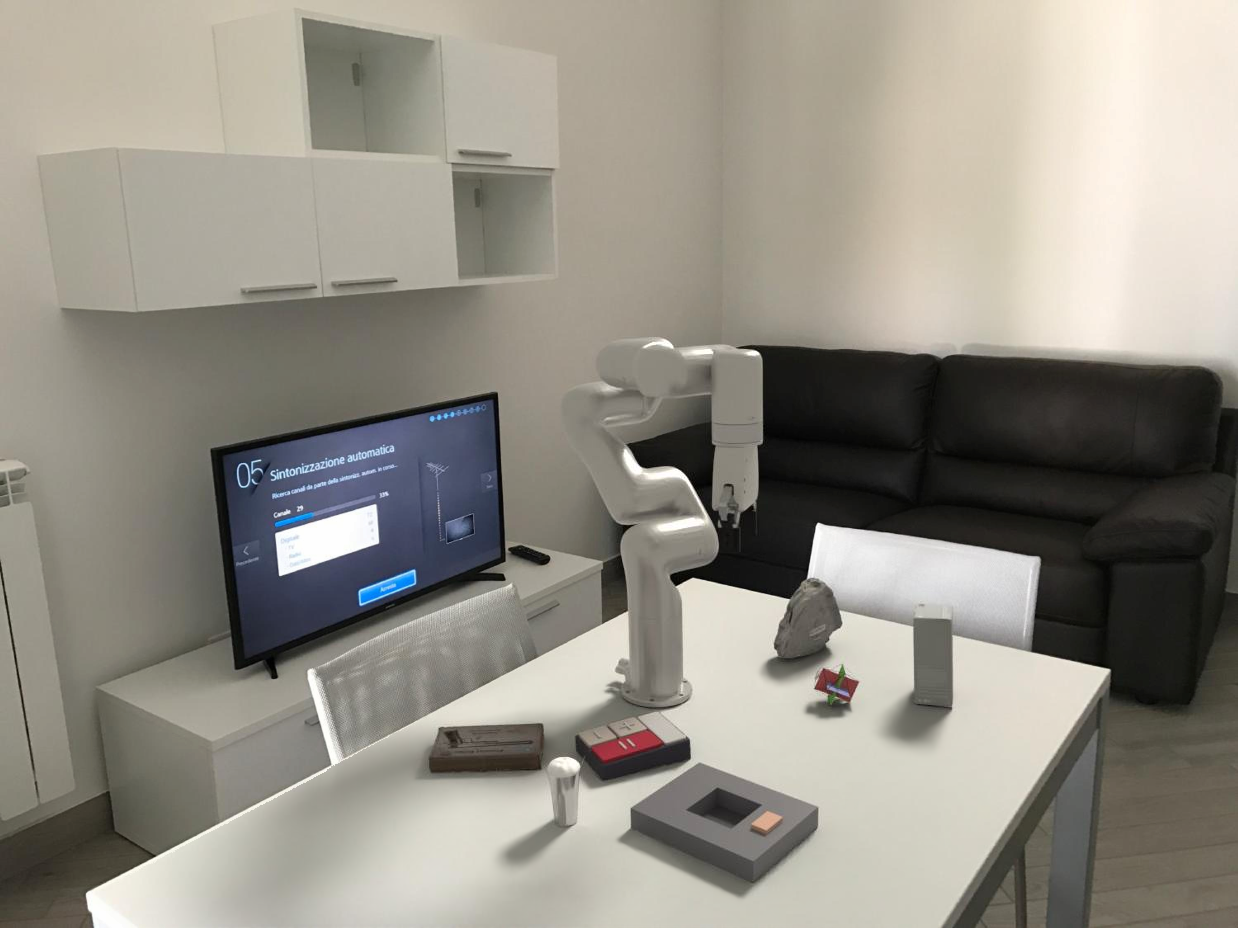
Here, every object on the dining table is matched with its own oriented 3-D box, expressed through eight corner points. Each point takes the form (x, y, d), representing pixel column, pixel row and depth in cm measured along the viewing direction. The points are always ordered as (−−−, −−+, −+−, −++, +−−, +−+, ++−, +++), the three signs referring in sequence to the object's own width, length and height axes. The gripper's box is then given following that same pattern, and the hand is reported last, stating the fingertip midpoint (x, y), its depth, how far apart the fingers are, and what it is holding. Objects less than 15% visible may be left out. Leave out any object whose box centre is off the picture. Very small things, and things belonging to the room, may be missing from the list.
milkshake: (583, 831, 141) (581, 764, 139) (545, 827, 142) (542, 761, 140) (591, 813, 145) (588, 748, 143) (554, 810, 146) (551, 745, 144)
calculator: (573, 730, 163) (658, 706, 169) (575, 755, 164) (660, 730, 170) (601, 761, 153) (690, 734, 159) (603, 787, 154) (692, 760, 160)
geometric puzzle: (864, 683, 180) (837, 648, 179) (869, 699, 174) (842, 664, 173) (831, 704, 182) (804, 671, 181) (835, 722, 175) (807, 687, 174)
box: (541, 772, 158) (540, 753, 157) (429, 775, 158) (427, 757, 157) (545, 738, 168) (544, 721, 167) (440, 742, 168) (438, 724, 167)
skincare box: (952, 709, 174) (956, 621, 171) (908, 704, 176) (912, 617, 173) (953, 688, 182) (957, 604, 179) (911, 684, 184) (915, 600, 181)
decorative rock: (825, 638, 206) (826, 566, 203) (850, 648, 201) (851, 575, 198) (764, 657, 198) (764, 583, 195) (788, 668, 192) (788, 592, 189)
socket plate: (630, 827, 141) (630, 803, 141) (699, 780, 153) (699, 758, 152) (753, 882, 129) (753, 856, 128) (818, 826, 140) (818, 802, 140)
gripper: (728, 422, 162) (729, 527, 165) (695, 442, 146) (697, 558, 149) (775, 424, 159) (775, 531, 162) (747, 444, 143) (747, 562, 147)
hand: (738, 544), depth 156 cm, fingers open, 9 cm apart
